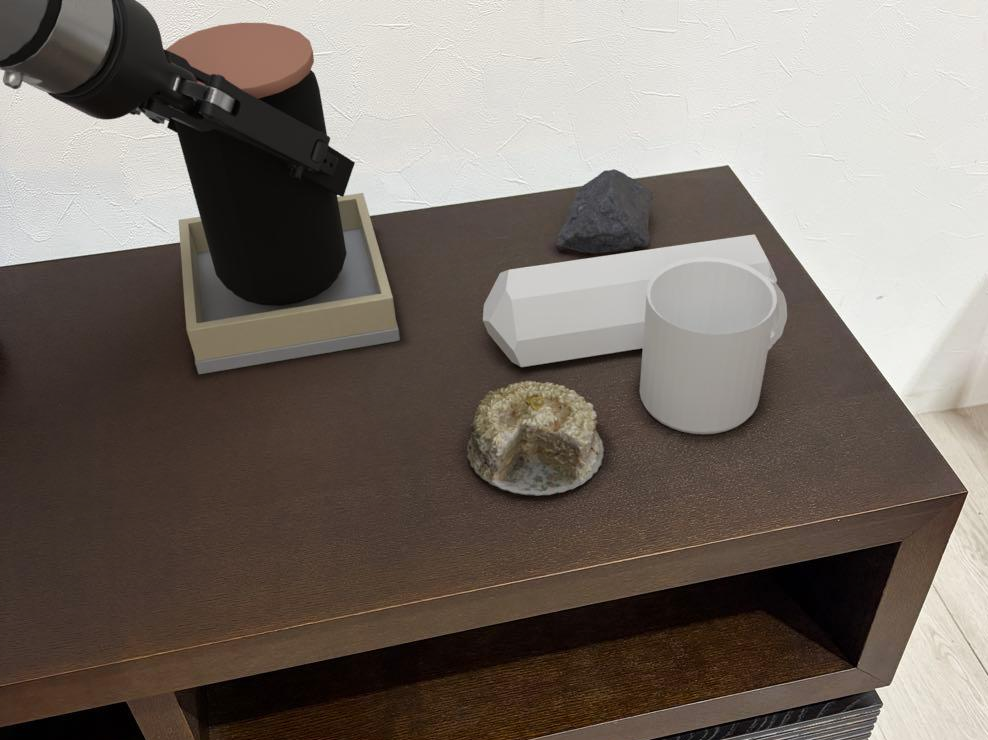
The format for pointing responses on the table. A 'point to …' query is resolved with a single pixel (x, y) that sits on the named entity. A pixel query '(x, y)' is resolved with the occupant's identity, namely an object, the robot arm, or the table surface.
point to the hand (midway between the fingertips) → (286, 159)
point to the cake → (534, 439)
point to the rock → (607, 215)
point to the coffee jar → (261, 171)
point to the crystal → (591, 300)
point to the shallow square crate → (293, 327)
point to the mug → (708, 343)
